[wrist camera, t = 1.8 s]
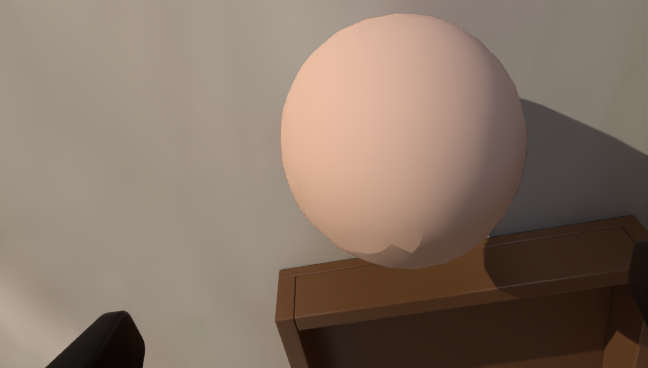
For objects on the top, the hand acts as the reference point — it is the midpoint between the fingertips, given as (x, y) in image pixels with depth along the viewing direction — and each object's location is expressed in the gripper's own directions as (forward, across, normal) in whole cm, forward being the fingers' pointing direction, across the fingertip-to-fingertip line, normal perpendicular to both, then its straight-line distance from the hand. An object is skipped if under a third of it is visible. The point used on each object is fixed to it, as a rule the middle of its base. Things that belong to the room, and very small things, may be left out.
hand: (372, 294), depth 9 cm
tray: (+11, -3, +16) cm, 20 cm away
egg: (+11, -1, +1) cm, 12 cm away
